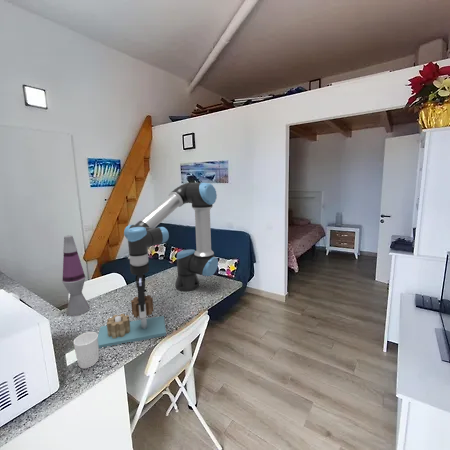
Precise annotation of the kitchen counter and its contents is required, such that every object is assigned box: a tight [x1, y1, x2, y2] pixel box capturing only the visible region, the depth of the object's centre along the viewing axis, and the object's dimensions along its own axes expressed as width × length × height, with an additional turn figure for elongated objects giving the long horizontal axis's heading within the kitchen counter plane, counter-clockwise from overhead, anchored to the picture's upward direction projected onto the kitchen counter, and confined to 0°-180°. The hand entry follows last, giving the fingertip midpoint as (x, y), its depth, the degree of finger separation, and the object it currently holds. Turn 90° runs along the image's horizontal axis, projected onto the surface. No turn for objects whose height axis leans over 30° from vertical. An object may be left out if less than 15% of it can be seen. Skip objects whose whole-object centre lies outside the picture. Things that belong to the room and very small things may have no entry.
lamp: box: [61, 234, 91, 317], centre depth 126 cm, size 11×11×40 cm
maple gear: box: [106, 313, 130, 338], centre depth 109 cm, size 9×9×6 cm
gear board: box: [97, 315, 167, 349], centre depth 110 cm, size 28×14×8 cm, turn 108°
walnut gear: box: [130, 294, 154, 318], centre depth 110 cm, size 9×9×6 cm
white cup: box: [73, 331, 100, 370], centre depth 93 cm, size 8×8×10 cm
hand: (143, 311), depth 111 cm, fingers closed on walnut gear, 9 cm apart
